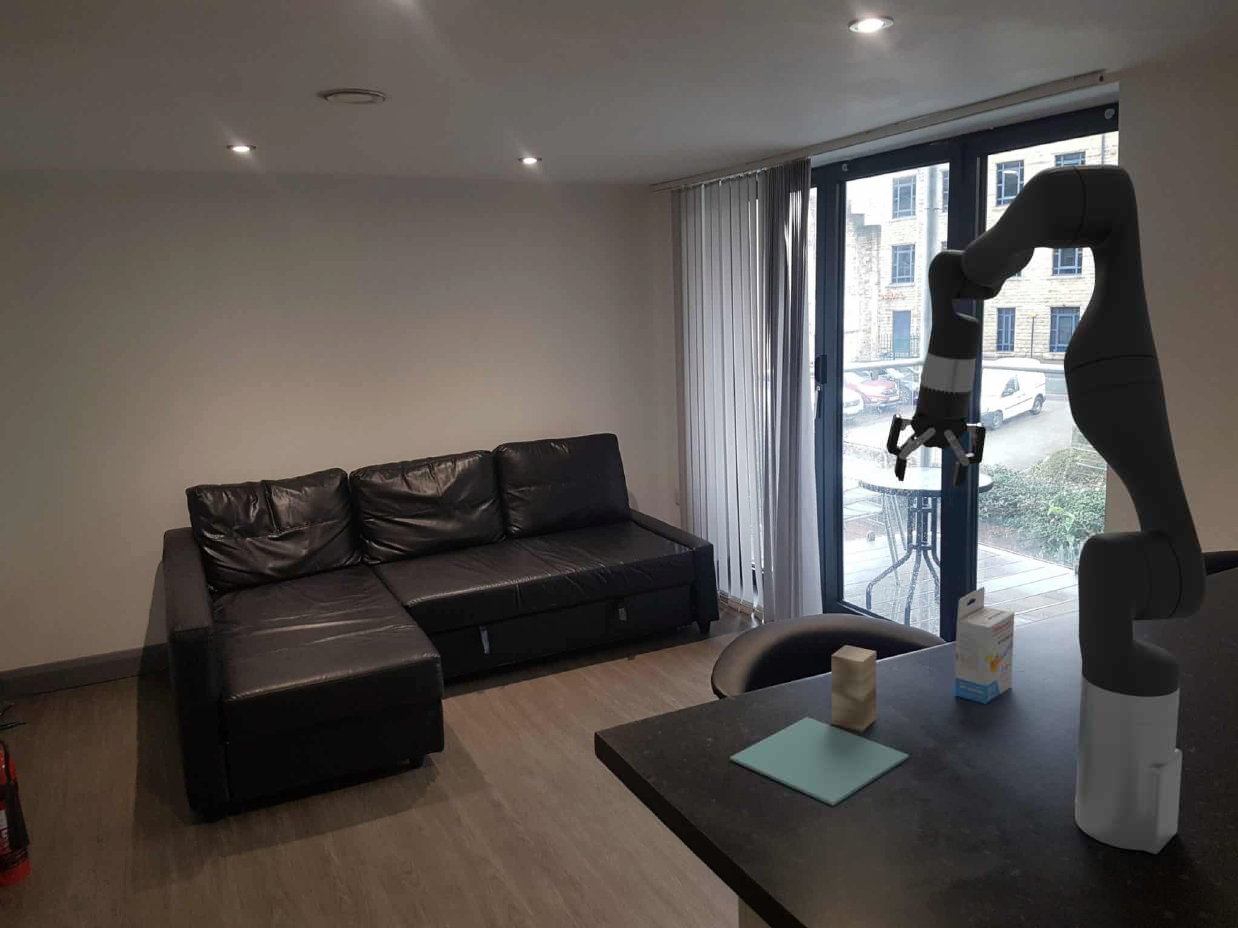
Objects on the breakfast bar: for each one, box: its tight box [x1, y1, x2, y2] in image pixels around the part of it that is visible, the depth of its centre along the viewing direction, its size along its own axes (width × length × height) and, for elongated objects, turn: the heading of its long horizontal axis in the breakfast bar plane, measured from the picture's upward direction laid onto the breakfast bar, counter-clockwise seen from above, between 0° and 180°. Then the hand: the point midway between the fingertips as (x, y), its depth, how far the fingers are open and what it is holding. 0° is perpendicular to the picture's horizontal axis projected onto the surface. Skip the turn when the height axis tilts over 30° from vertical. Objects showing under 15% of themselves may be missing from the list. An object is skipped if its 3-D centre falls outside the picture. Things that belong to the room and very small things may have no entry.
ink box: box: [954, 586, 1015, 705], centre depth 138 cm, size 8×5×15 cm, turn 134°
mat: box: [729, 716, 909, 807], centre depth 122 cm, size 16×16×1 cm
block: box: [831, 644, 877, 732], centre depth 131 cm, size 4×4×10 cm
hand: (928, 482), depth 151 cm, fingers open, 8 cm apart
